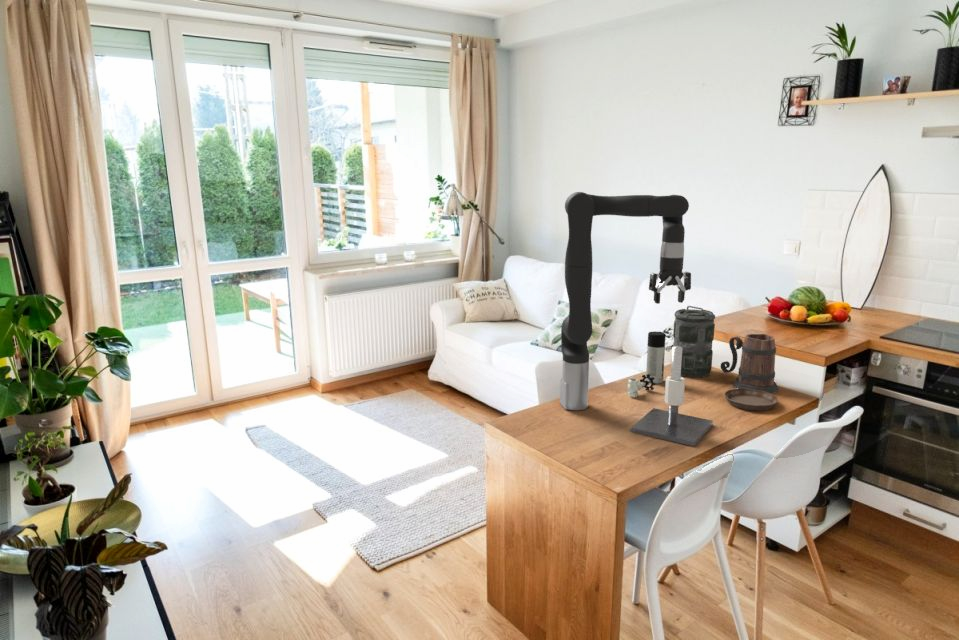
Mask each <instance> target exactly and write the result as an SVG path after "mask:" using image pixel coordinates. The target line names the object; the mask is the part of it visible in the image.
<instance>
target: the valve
mask: <svg viewBox="0 0 959 640" xmlns="http://www.w3.org/2000/svg"><path fill="white" fill-rule="evenodd" d="M646 376H647V377H646ZM641 377H642V378H641V379H640V380H639V379H638V378H634V377H631V378H628V380H627V387H626V388H627V389H626V390H627V395H628V396H629V397H628V396H627V397H628V398H630V397H636V398H638V397H639V391H641V390H642V389H643V388H644V389H645V391H646V390H648V391H653V390H655V388H654V387H655V386H657V384H656V383H654V382H653V380H654V377H652V378H650V374H647V375H646V374H643V375H642V376H641ZM646 378H648V379H650V381H649V380H646ZM650 382H651V383H650ZM637 396H638V397H637Z"/></svg>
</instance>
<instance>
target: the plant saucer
mask: <svg viewBox="0 0 959 640" xmlns="http://www.w3.org/2000/svg"><path fill="white" fill-rule="evenodd" d="M723 395H724V397H725V399H726V400H727V402H728V403H729V404H731V405H732V406H734V407H735V406H736V407H735V408H739V409H742V410H747V411H756V412H757V411H758V412H759V411H766V410H770V409H772V408H773V407H774V406H775V405H776V404H777V403H778V401H779V399H778V397H777V396H776V395H775V394H774V393H768V392H765V391H760V390H755V389H737V388H732V389H728V390H726V391H725V392H724V394H723Z"/></svg>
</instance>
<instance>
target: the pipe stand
mask: <svg viewBox="0 0 959 640" xmlns="http://www.w3.org/2000/svg"><path fill="white" fill-rule="evenodd" d="M672 346H673V347H672V348H671V363H670V364H671V365H670V376H671V379H670V380H674V381H680V377H682V376H681V361H682V347H681V346H674V345H672ZM667 405H668V410H665V409H664V410H663V409H660V408H655V407H654V408H653V407H652V409H651V410H650V411H648V412H647V413H646V414H645V415H644V416H643V417H641V418H640V419H639V420H638V421H637V422H636V423H634V424H633V425H632V426H631V430H630V432H632V433H636V434H639V435H644V436H647V437H652V438H656V439H661V440H664V441H668V442H669V441H670V442H673V443H678V444H681V445H686V446H690V447H695V446H696V445H697V444H698V443H699V441H701V439H702V438H703V437H704V436H705V434H707V432H708V431H709V430H710V429H711V427H712V426H714V425H713V423H714V420H711V419H706V418H703V417H702V418H701V417H698V416H697V417H696V416H693V415H688V414H684V413H679V407H680V405H676V406H674V405H669V404H667Z"/></svg>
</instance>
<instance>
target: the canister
mask: <svg viewBox="0 0 959 640" xmlns="http://www.w3.org/2000/svg"><path fill="white" fill-rule="evenodd" d="M690 308H691V309H690ZM674 319H675V320H674V321H673V333H672V335H673V336H672V337H673V345H672V347H673V346H681V347H682V361H681V377H692V378H705V377H708V376H710V375H711V373H712V369H713V367H712V364H713V356H714V355H713V353H714V352H713V349H712V348H713V341H714V339H715V338H714V337H715V328H716V327H715V326H716V324H715V319H716V315H715V314H714V313H713V311H710V310H707V309H703V308H702V307H698V306H691V305H687V307H686V308H680V309H677V310H676V311H675V312H674Z"/></svg>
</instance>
